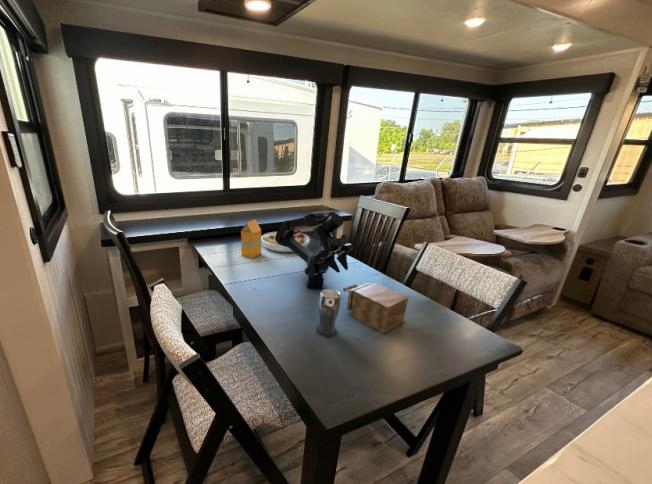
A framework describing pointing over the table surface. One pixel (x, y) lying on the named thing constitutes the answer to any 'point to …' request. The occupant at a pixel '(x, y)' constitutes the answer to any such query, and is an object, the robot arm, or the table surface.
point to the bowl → (271, 244)
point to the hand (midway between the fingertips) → (343, 270)
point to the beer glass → (328, 311)
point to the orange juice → (251, 239)
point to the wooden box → (379, 307)
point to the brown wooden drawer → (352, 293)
